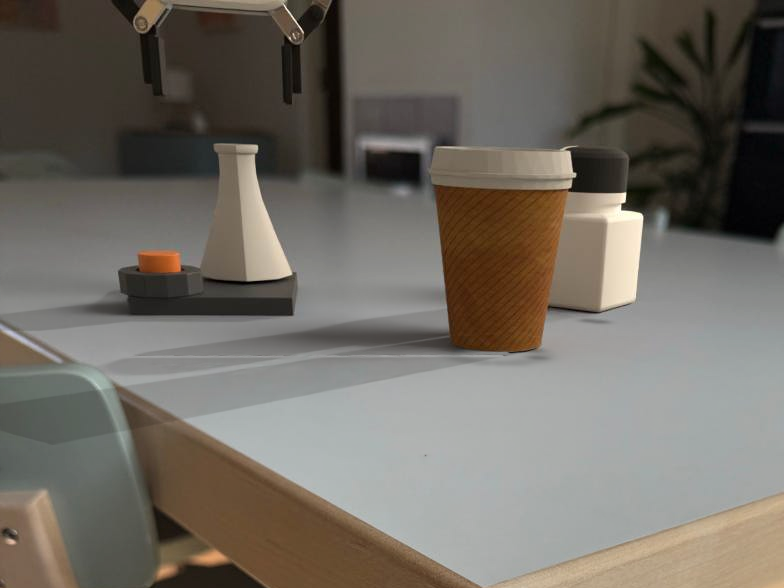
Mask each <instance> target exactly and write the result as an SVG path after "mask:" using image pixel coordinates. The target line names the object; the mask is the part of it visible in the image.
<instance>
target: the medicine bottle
mask: <svg viewBox="0 0 784 588" xmlns="http://www.w3.org/2000/svg"><path fill="white" fill-rule="evenodd" d="M559 150H566V151H570V154H571V162H572V170H573V173H576V177H574V178H572V186H571V188H568V194H567V198H566V205H565V210H564V216H563V222H562V227H561V234H560V238H559V245H558V250H557V256H556V261H555V267H554V273H553V279H552V286H551V290H550V296H549V302H548V307H551V308H552V307H553V308H561V309H568V310H577V311H584V312H585V311H586V312H590V313H591V312H592V313H601V312H605V311H608V310H611V309H615V308H619V307H623V306H626V305H629V304H633V303H635V301H636V296H637V287H638V276H639V267H640V259H641V258H640V255H641V247H642V237H643V236H642V234H643V225H644V215H643V214H642V213H641V212H637V211H634V210H633V211H632V210H622V204H624V203H626V200H627V199H626V198H627V190H628V189H627V188H628V177H629V167H630V157H629V155H628V154H627V153H626V152H625V151H624V150H622V149H620V148H616V147H612V146H601V145H599V146H598V145H572V146H571V145H570V146H564V147H562V148H560V149H559Z"/></svg>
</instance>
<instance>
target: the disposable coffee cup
mask: <svg viewBox="0 0 784 588" xmlns="http://www.w3.org/2000/svg"><path fill="white" fill-rule="evenodd" d="M426 170H427V173H428V174H430V183H431V184H433V185H434V194H435V195H434V196H435V204H436V205H435V206H436V214H437V225H438V233H439V242H440V244H439V245H440V253H441V264H442V273H443V282H444V292H445V302H446V311H447V323H448V329H449V330H448V331H449V342H450V343H451V344H452V345H454V346H457V347H460V348H463V349H469V350H474V351H485V352H507V353H514V352H524V351H531V350H535V349H537V348H539V347H540V346H542V341H543V336H544V330H545V324H546V319H547V312H548V307H549V306H548V302H549V296H550V290H551V286H552V279H553V273H554V267H555V261H556V256H557V250H558V245H559V238H560V234H561V227H562V222H563V216H564V210H565V205H566V198H567V194H568V188H571V186H572V178H574V177H576V173H573V170H572V162H571V154H570V151H566V150H560V149H549V148H526V147H525V148H524V147H500V146H499V147H497V146H495V147H494V146H450V145H449V146H448V145H447V146H434V150H433V155H432V159H431V164H430V167H427V168H426Z"/></svg>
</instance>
